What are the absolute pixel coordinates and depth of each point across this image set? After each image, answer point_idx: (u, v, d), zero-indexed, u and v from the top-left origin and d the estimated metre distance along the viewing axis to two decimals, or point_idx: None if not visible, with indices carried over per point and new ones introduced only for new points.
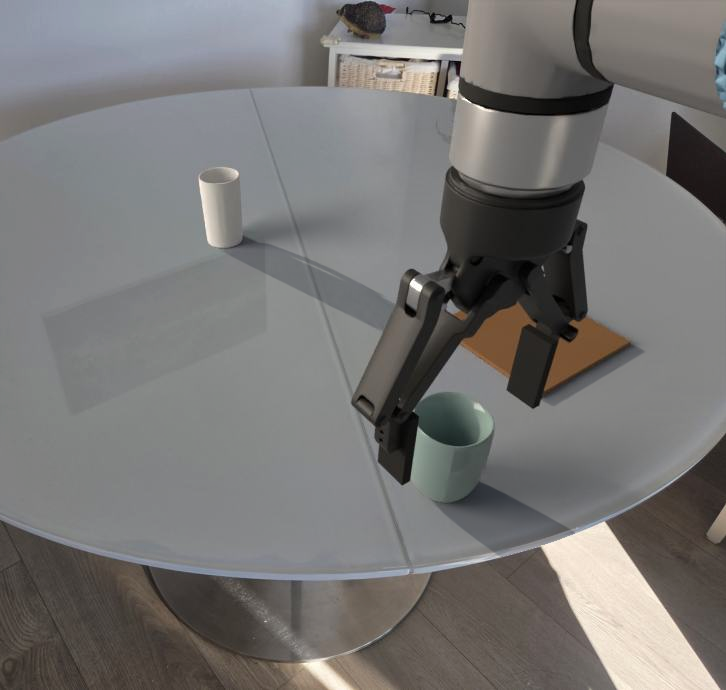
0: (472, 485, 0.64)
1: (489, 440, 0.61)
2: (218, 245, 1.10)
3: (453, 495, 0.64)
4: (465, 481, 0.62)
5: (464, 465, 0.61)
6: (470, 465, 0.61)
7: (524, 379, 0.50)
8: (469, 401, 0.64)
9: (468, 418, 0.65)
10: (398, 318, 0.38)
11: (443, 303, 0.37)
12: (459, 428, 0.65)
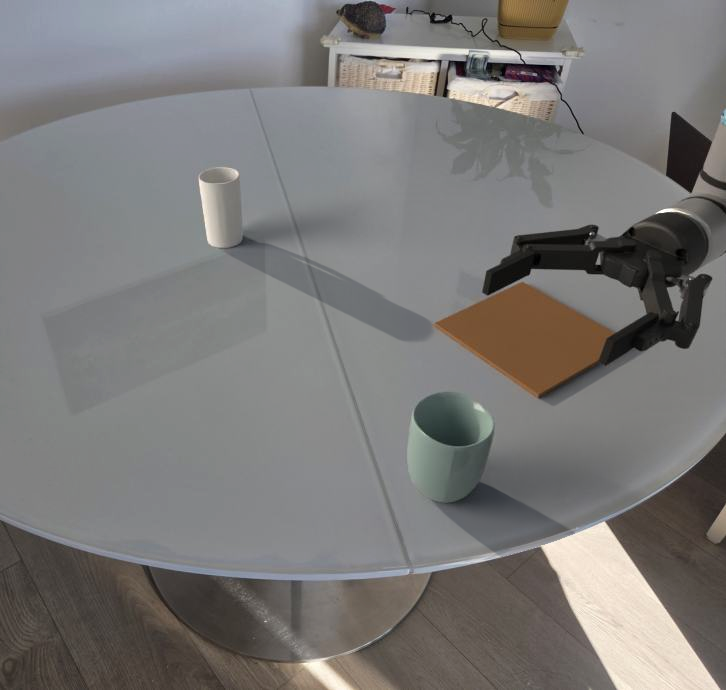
0: (472, 485, 0.64)
1: (489, 440, 0.61)
2: (218, 245, 1.10)
3: (453, 495, 0.64)
4: (465, 481, 0.62)
5: (464, 465, 0.61)
6: (470, 465, 0.61)
7: None
8: (469, 401, 0.64)
9: (468, 418, 0.65)
10: None
11: (593, 232, 0.70)
12: (459, 428, 0.65)
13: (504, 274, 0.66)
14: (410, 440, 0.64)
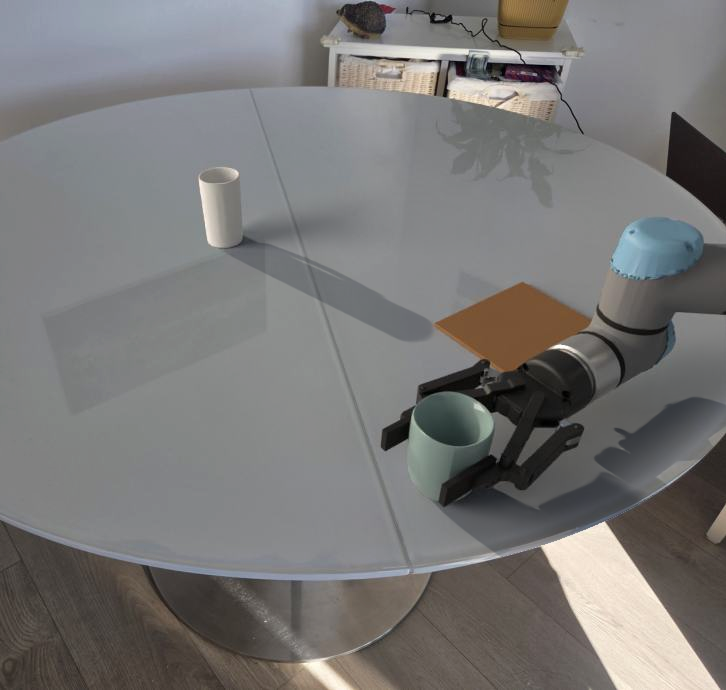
0: None
1: (489, 440, 0.61)
2: (218, 245, 1.10)
3: None
4: None
5: (464, 465, 0.61)
6: (470, 465, 0.61)
7: None
8: (469, 401, 0.64)
9: (468, 418, 0.65)
10: None
11: (487, 368, 0.72)
12: (459, 428, 0.65)
13: (401, 431, 0.66)
14: (410, 440, 0.64)
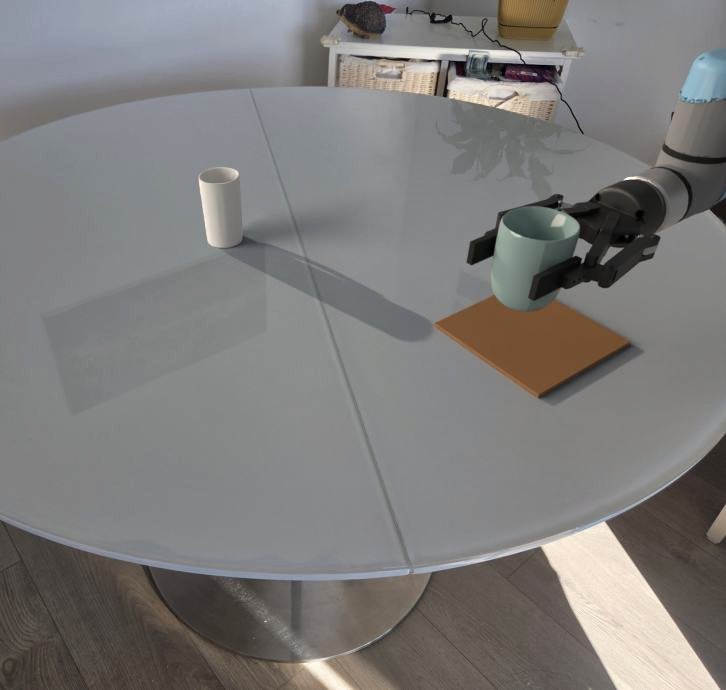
0: (556, 290, 0.68)
1: (576, 238, 0.65)
2: (218, 245, 1.10)
3: (538, 300, 0.68)
4: None
5: (552, 262, 0.65)
6: (558, 263, 0.65)
7: None
8: (552, 213, 0.69)
9: (551, 229, 0.69)
10: None
11: (561, 200, 0.76)
12: None
13: (487, 245, 0.70)
14: (498, 248, 0.68)
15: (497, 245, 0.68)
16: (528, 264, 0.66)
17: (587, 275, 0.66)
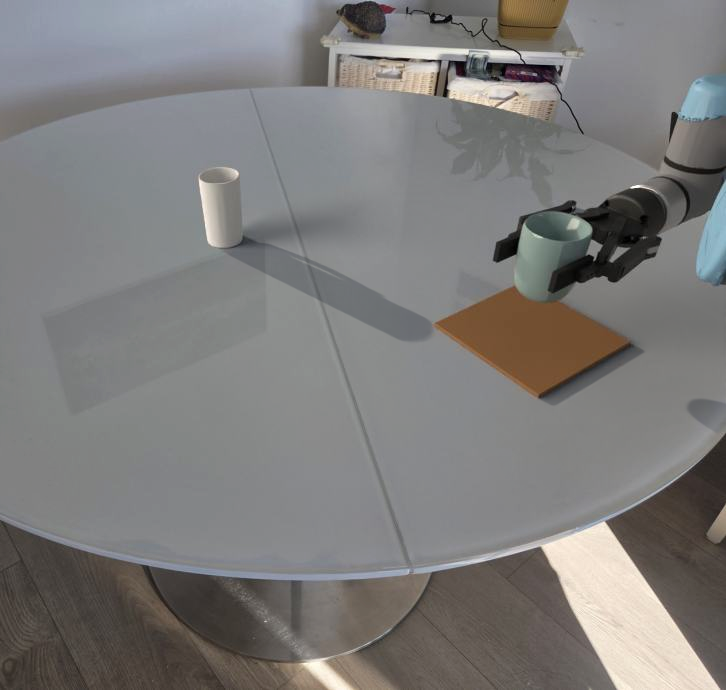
0: (571, 284, 0.79)
1: (589, 239, 0.75)
2: (218, 245, 1.10)
3: (556, 292, 0.79)
4: None
5: (569, 259, 0.75)
6: (574, 260, 0.76)
7: None
8: (568, 217, 0.79)
9: (567, 231, 0.79)
10: None
11: (574, 205, 0.87)
12: None
13: (511, 245, 0.81)
14: (521, 247, 0.79)
15: (520, 245, 0.79)
16: (548, 261, 0.76)
17: (598, 271, 0.76)
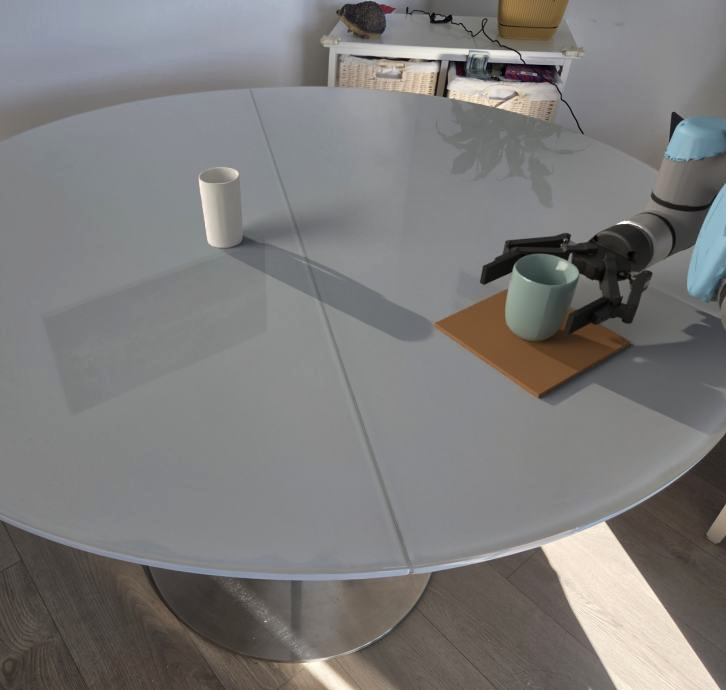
0: (559, 324, 0.82)
1: (576, 283, 0.79)
2: (218, 245, 1.10)
3: (544, 332, 0.83)
4: (555, 317, 0.81)
5: (556, 302, 0.79)
6: (561, 303, 0.80)
7: None
8: (556, 260, 0.83)
9: (555, 273, 0.83)
10: None
11: (566, 238, 0.90)
12: (548, 283, 0.84)
13: (496, 269, 0.86)
14: (511, 289, 0.82)
15: (510, 286, 0.83)
16: (536, 303, 0.80)
17: (613, 313, 0.78)
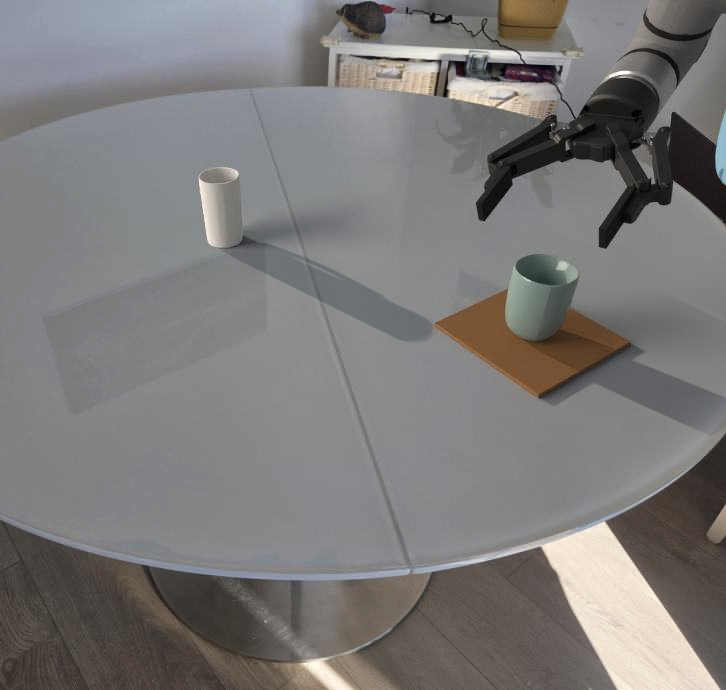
0: (559, 324, 0.82)
1: (576, 283, 0.79)
2: (218, 245, 1.10)
3: (544, 332, 0.83)
4: (555, 317, 0.81)
5: (557, 302, 0.79)
6: (561, 303, 0.80)
7: None
8: (556, 260, 0.83)
9: (555, 273, 0.83)
10: None
11: (553, 122, 0.76)
12: (548, 283, 0.84)
13: (491, 197, 0.73)
14: (511, 289, 0.82)
15: (511, 286, 0.83)
16: (536, 303, 0.80)
17: (646, 200, 0.65)
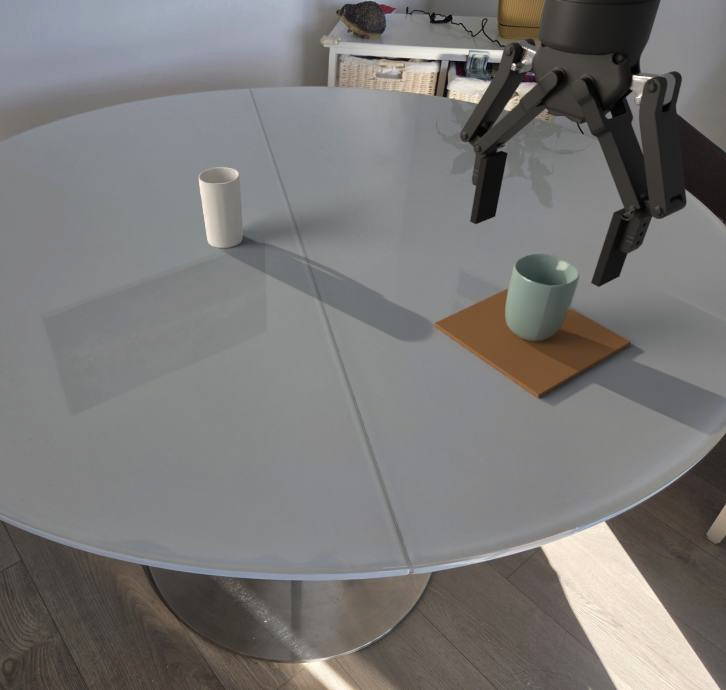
0: (559, 324, 0.82)
1: (576, 283, 0.79)
2: (218, 245, 1.10)
3: (544, 332, 0.83)
4: (555, 317, 0.81)
5: (557, 302, 0.79)
6: (561, 303, 0.80)
7: None
8: (556, 260, 0.83)
9: (555, 273, 0.83)
10: None
11: (514, 63, 0.52)
12: (548, 283, 0.84)
13: (485, 202, 0.61)
14: (511, 289, 0.82)
15: (511, 286, 0.83)
16: (536, 303, 0.80)
17: (647, 218, 0.49)
